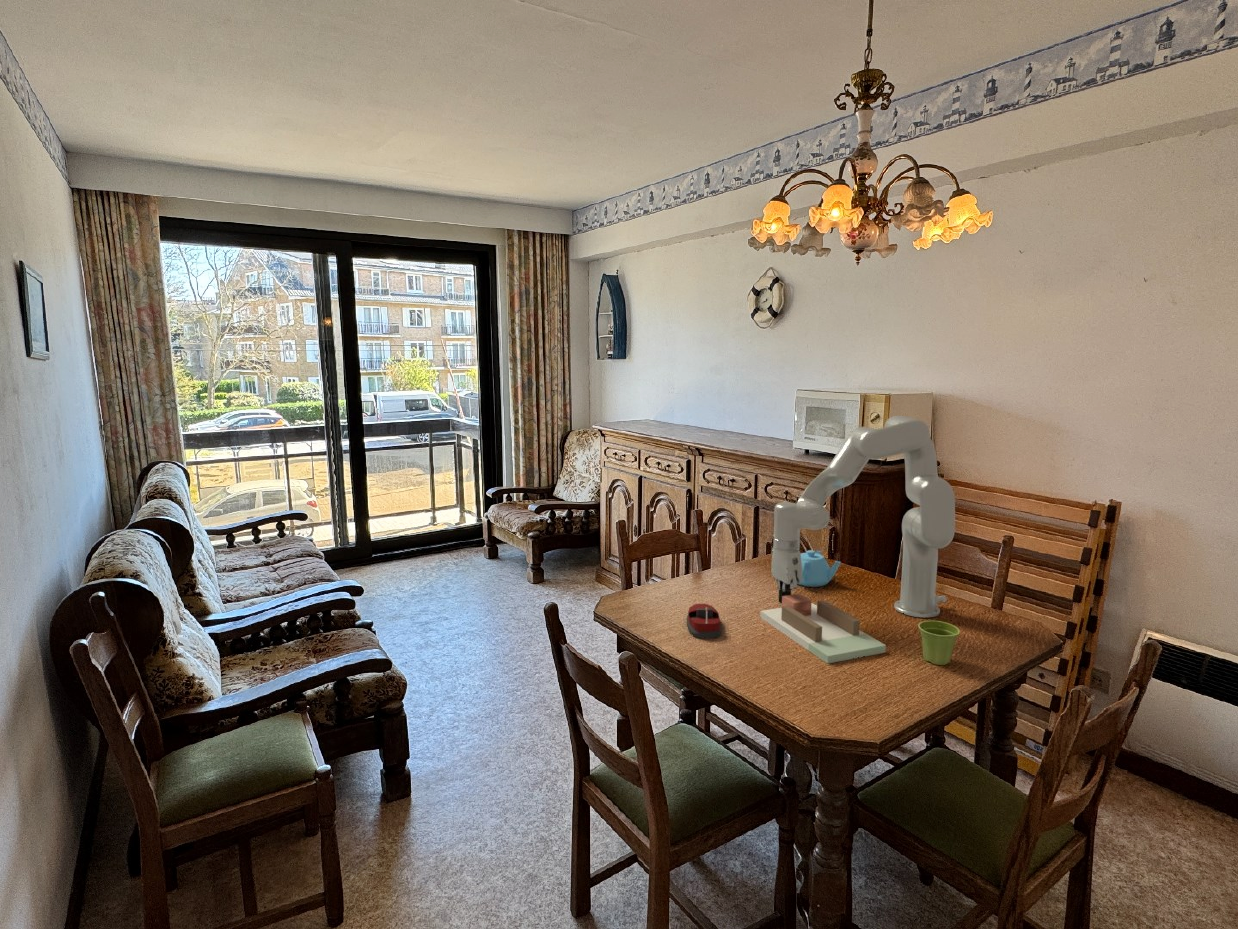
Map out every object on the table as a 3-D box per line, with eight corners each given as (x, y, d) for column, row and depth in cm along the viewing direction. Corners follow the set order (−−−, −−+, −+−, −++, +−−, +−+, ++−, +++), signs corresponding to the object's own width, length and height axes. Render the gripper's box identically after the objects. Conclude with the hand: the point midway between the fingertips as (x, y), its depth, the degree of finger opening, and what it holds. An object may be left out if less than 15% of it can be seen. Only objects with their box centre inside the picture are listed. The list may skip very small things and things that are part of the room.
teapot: (779, 575, 233) (780, 546, 231) (818, 572, 236) (820, 543, 234) (799, 590, 218) (800, 559, 216) (840, 587, 221) (842, 556, 219)
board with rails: (811, 609, 202) (812, 590, 201) (885, 652, 172) (886, 630, 171) (760, 617, 196) (760, 598, 195) (827, 663, 166) (828, 641, 165)
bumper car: (716, 615, 199) (717, 583, 197) (726, 643, 179) (727, 608, 177) (683, 615, 199) (684, 583, 197) (690, 644, 179) (690, 608, 177)
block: (798, 607, 197) (799, 593, 197) (811, 615, 192) (811, 600, 191) (781, 610, 196) (782, 596, 195) (793, 618, 190) (793, 603, 189)
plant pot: (962, 670, 162) (964, 636, 160) (921, 667, 164) (923, 634, 162) (951, 653, 171) (953, 621, 169) (912, 650, 173) (914, 619, 171)
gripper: (812, 549, 191) (809, 609, 194) (783, 536, 205) (781, 592, 207) (789, 552, 188) (787, 613, 191) (762, 538, 202) (760, 596, 205)
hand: (784, 602), depth 199 cm, fingers closed
